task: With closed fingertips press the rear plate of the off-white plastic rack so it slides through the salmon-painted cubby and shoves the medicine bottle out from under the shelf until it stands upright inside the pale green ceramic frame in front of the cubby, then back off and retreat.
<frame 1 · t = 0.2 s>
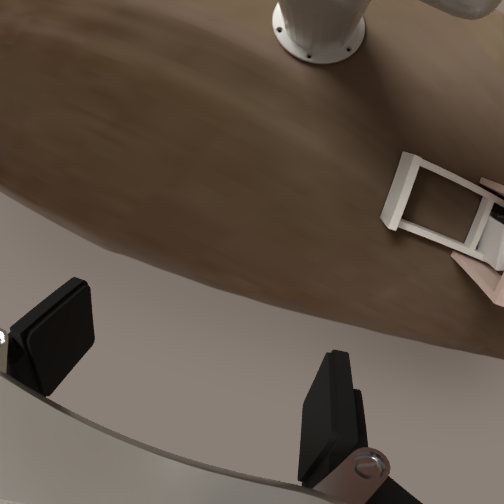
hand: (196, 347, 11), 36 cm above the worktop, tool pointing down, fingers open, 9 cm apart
rack: (469, 219, 39), point 3 cm above the worktop, slide at 0.0 cm, touching medicine bottle
medicine bottle: (495, 232, 41), resting in rack
cubby: (486, 226, 41), on the worktop
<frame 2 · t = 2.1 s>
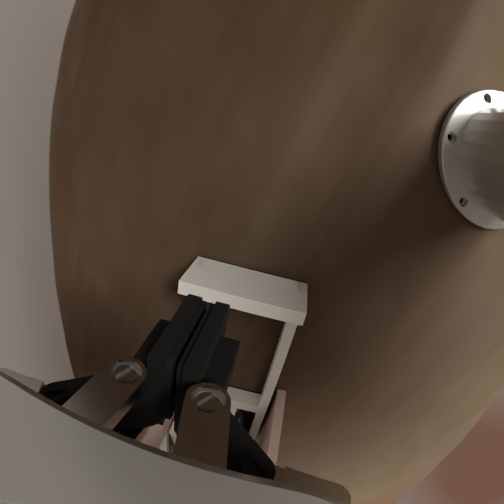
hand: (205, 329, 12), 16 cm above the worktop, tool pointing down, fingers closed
rack: (224, 387, 32), point 3 cm above the worktop, slide at 0.0 cm, touching medicine bottle
cubby: (223, 400, 37), on the worktop
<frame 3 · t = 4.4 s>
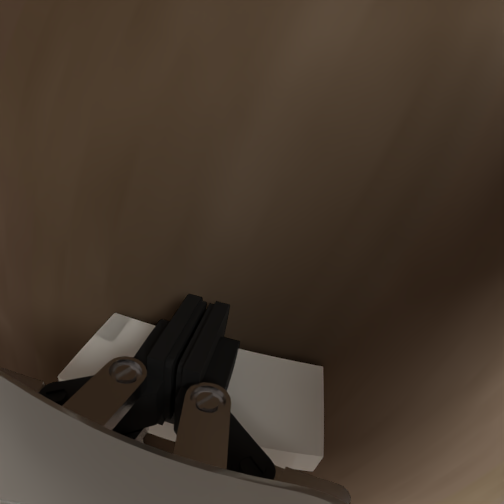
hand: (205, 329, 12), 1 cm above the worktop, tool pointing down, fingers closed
rack: (188, 496, 17), point 3 cm above the worktop, slide at 1.7 cm, touching gripper, medicine bottle
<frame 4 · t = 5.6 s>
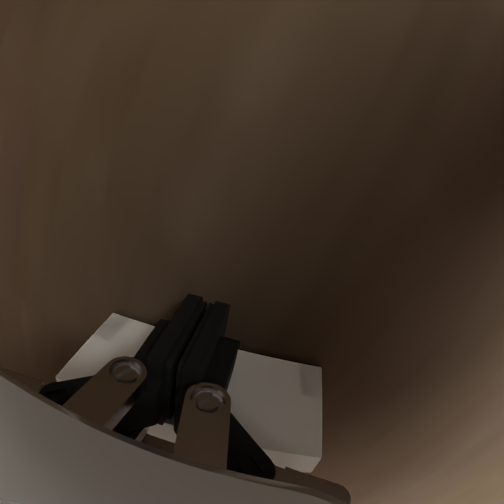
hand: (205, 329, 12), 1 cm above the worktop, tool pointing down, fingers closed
rack: (186, 496, 17), point 3 cm above the worktop, slide at 6.1 cm, touching gripper, medicine bottle
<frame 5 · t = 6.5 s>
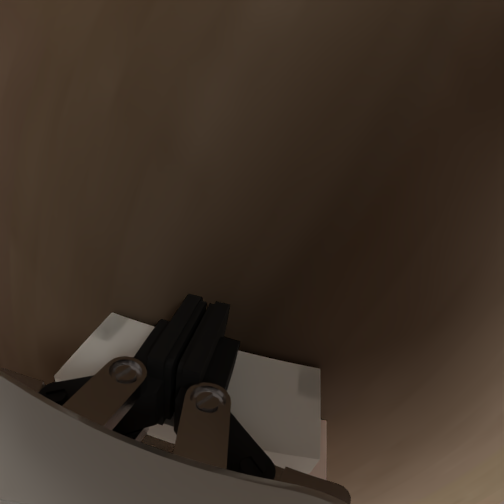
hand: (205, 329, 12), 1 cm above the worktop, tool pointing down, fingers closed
rack: (183, 496, 17), point 3 cm above the worktop, slide at 10.2 cm, touching gripper, medicine bottle
cubby: (197, 437, 18), on the worktop
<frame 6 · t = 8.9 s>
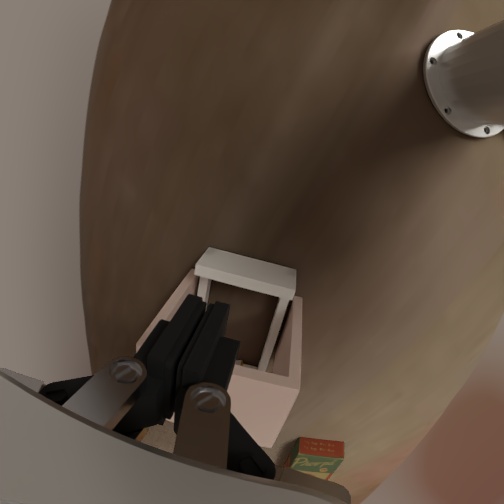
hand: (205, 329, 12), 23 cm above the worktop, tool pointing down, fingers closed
rack: (227, 358, 39), point 3 cm above the worktop, slide at 10.6 cm, touching medicine bottle
carton: (308, 459, 50), on the worktop
cubby: (239, 314, 39), on the worktop
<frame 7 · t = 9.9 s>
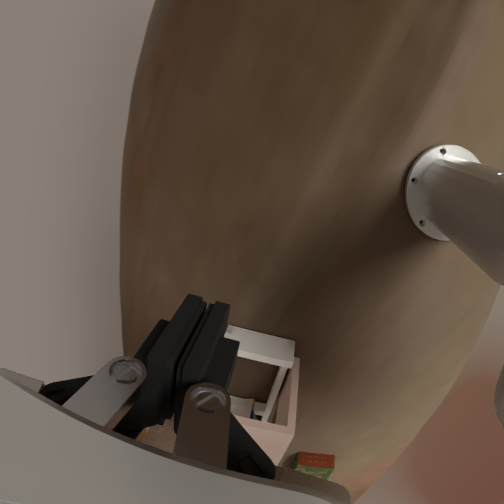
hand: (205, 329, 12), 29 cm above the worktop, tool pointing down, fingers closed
rack: (243, 400, 50), point 3 cm above the worktop, slide at 10.8 cm, touching medicine bottle
medicine bottle: (239, 409, 55), resting in rack
carton: (307, 468, 61), on the worktop
cubby: (252, 368, 50), on the worktop
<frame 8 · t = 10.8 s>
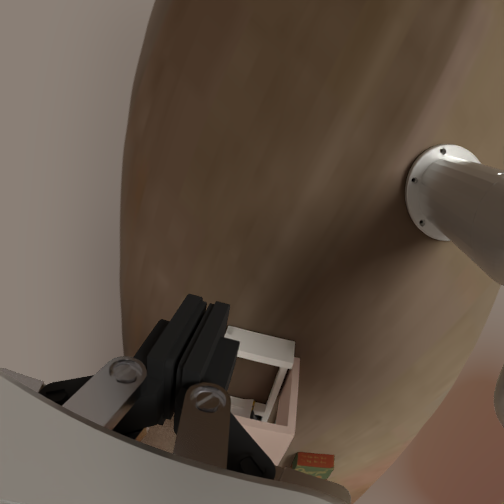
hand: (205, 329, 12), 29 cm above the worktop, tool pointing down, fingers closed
rack: (243, 400, 50), point 3 cm above the worktop, slide at 10.9 cm, touching medicine bottle
medicine bottle: (239, 409, 55), resting in rack
carton: (307, 468, 61), on the worktop
cubby: (252, 368, 50), on the worktop
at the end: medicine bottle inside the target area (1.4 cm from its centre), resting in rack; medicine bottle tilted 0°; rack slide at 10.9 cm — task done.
